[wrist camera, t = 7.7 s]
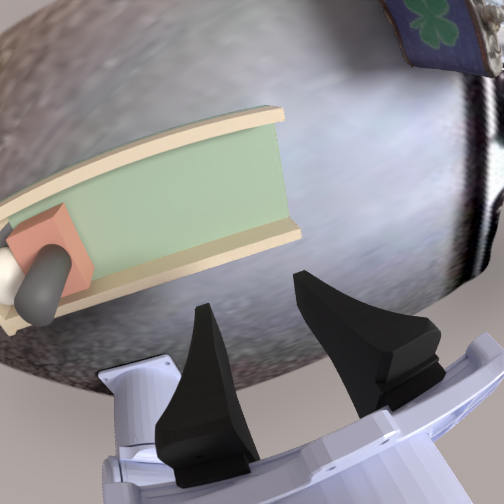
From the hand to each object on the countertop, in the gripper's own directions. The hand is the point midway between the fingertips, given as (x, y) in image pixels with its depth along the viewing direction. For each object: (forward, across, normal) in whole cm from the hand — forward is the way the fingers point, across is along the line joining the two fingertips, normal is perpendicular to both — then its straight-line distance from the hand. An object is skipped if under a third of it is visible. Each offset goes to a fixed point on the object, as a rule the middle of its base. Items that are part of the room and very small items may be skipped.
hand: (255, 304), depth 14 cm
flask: (+10, -18, -14) cm, 25 cm away
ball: (+6, +15, -3) cm, 17 cm away
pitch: (+9, +7, -3) cm, 12 cm away
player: (+8, +11, -3) cm, 14 cm away
